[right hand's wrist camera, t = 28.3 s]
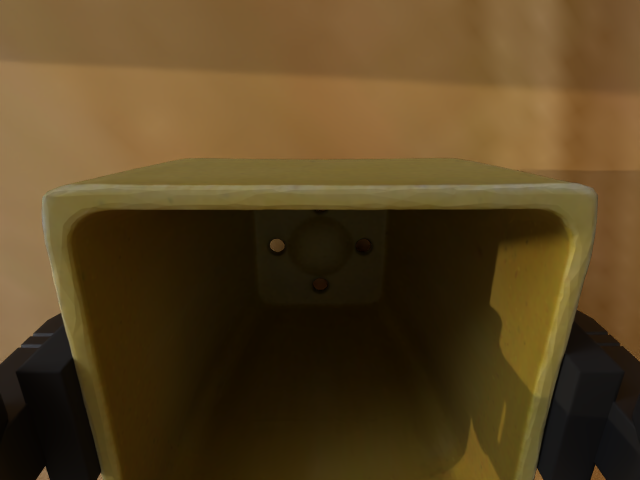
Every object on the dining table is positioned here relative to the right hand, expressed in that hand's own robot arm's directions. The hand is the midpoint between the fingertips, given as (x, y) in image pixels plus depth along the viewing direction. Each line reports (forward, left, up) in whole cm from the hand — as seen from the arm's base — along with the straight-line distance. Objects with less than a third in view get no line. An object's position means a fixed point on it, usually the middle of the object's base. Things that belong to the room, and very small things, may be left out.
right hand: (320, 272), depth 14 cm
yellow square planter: (0, 0, -3) cm, 3 cm away
